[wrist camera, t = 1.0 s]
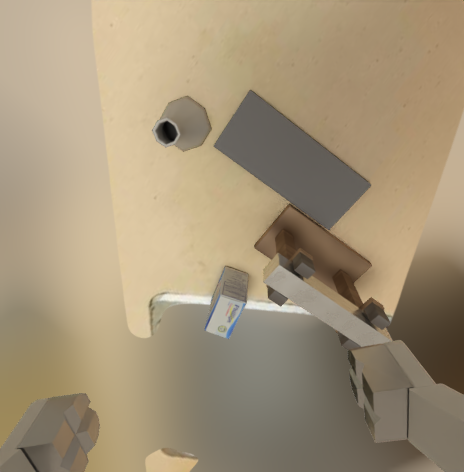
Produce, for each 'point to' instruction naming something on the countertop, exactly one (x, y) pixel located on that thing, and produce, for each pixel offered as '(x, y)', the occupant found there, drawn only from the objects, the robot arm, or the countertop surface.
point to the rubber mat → (290, 161)
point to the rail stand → (319, 262)
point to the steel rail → (323, 303)
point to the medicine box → (227, 302)
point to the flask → (182, 125)
